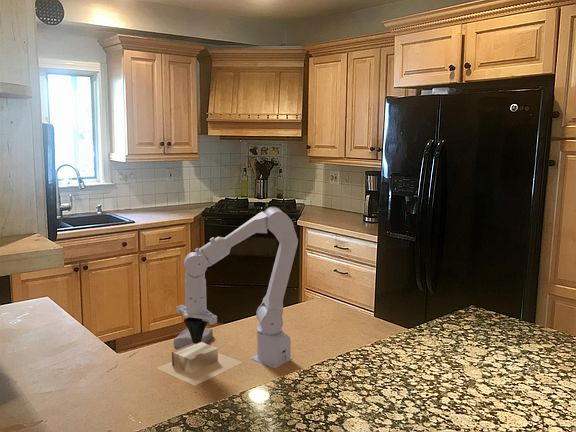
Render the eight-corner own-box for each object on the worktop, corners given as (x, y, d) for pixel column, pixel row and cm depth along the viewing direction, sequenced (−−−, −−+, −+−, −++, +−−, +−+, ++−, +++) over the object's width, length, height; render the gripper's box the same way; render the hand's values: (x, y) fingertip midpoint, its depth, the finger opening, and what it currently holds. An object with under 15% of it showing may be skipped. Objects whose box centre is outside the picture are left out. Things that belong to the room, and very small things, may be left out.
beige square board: (242, 363, 152) (242, 362, 152) (194, 387, 138) (194, 385, 138) (204, 348, 162) (204, 347, 162) (156, 369, 148) (156, 368, 148)
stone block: (172, 355, 162) (202, 351, 160) (168, 340, 162) (199, 336, 160) (187, 341, 174) (215, 337, 172) (184, 327, 173) (212, 323, 171)
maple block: (217, 348, 152) (198, 340, 157) (190, 359, 144) (171, 351, 149) (217, 361, 153) (198, 353, 158) (191, 373, 145) (172, 365, 150)
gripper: (167, 294, 149) (169, 340, 151) (202, 305, 140) (204, 354, 142) (186, 288, 154) (188, 332, 157) (222, 298, 145) (223, 345, 148)
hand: (197, 342), depth 150 cm, fingers closed
